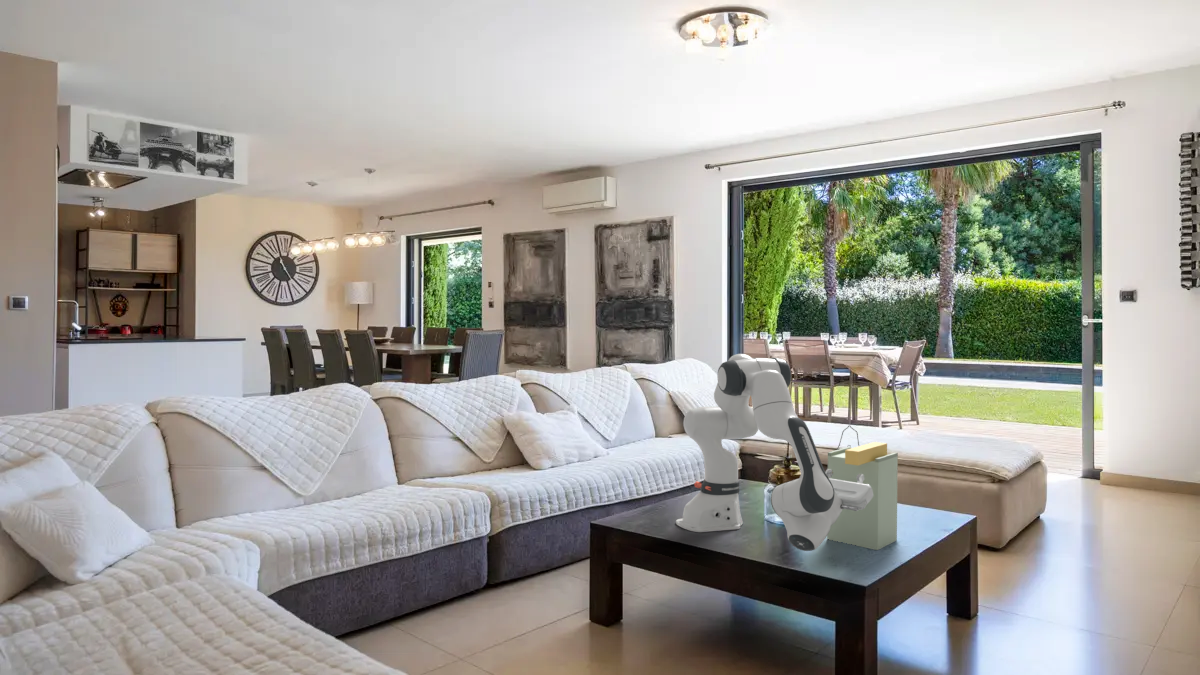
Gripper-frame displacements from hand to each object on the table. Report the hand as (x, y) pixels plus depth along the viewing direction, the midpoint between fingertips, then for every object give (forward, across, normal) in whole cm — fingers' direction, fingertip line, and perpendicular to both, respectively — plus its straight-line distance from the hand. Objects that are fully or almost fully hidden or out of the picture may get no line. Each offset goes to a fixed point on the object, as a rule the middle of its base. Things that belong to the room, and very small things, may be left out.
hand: (845, 473), depth 222 cm
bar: (+13, 0, +5) cm, 14 cm away
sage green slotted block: (+4, +4, +30) cm, 31 cm away
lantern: (+34, +24, +48) cm, 63 cm away
